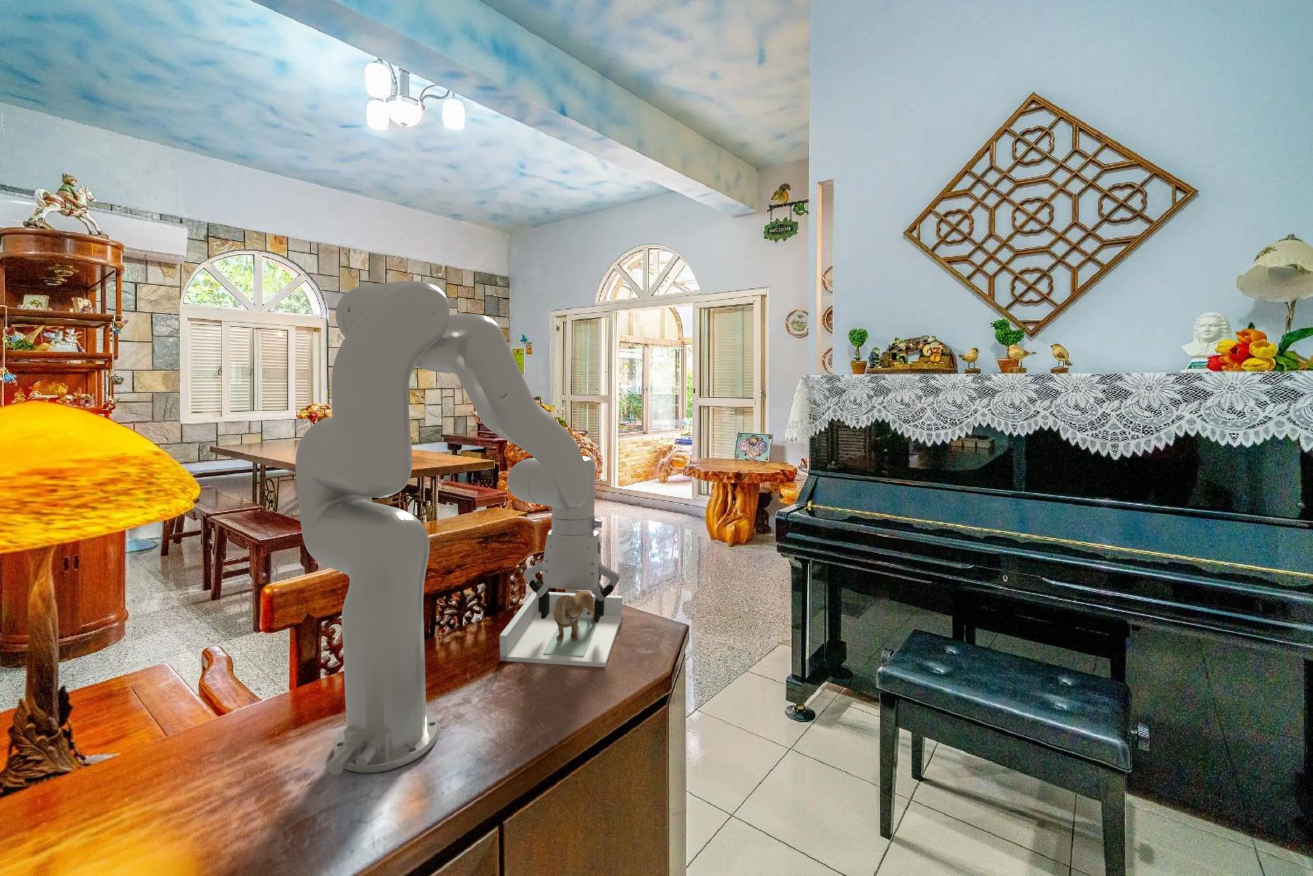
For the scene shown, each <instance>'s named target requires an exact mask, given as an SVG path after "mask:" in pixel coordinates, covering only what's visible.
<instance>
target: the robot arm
mask: <svg viewBox="0 0 1313 876" xmlns="http://www.w3.org/2000/svg"><path fill="white" fill-rule="evenodd" d="M335 321H336V325H337V328H338V329H339V332H340V333H341V335H342V336H343V337H344V339H343V341H342V342H341V344H340V346H339V349H338V350H337V353H336V356H335V358H334V362H333V366H332V372H331V417H328V418H324V419H322V420H319V421H317V422H315V423H314V424H313V425H311V426H310V427H309V428H307V430H306V431H305V432H304V434H303V435H302V437H301V439H300V441H299V443H298V446H297V449H296V454H295V461H294V462H295V465H294V466H295V479H296V489H297V499H298V511H299V519H300V520H299V521H300V529H301V534H302V535H301V536H302V540H303V544H304V546H305V548H306V550H307V552H308V554H309V555H310V557H312V559H314V560H315V561H316V562H318V563H319V564H321V565H323V566H325V567H328V568H330V569H332V570H335V571H338V572H339V573H342V574H344V575H347V576H348V578H349V585H348V588H347V589H348V590H347V593H346V596H345V598H344V603H343V605H342V611H341V638H342V652H343V653H342V654H343V656H342V657H343V671H344V672H343V678H344V701H345V702H344V703H345V722H346V727H345V728H344V729H343V730H342V731H341V732H340V733H339V735H337V736H336V739H335V740H334V743H333V749H332V750H333V756H332V758H331V759H330V760H329V761H328V762H327V763H326V770H327V771H328V773H329V774H331V775H333V776H338V775H340V774H341V773H342V772H343V771H344V770H348V771H349V772H350V771H351V772H355V773H363V774H365V773H366V774H369V773H379V772H385V771H389V770H390V771H391V770H393V769H397V768H400V767H402V766H406V765H407V764H410V763H412V762H413V761H416V760H417V759H418V758H420V757H422V756H423V755H424V754H426V753H427V752H428V751H429V750H430V749H431V748H432V747H433V746H434V744H435V743H436V741H437V739H438V738H439V734H440V733H439V731H440V729H439V725H440V724H439V721H438V719H437V717H436V716H435V715H434V714H433V713H432V712H430V711H428V710H427V702H426V701H427V700H426V699H427V698H426V697H427V695H426V659H425V657H426V655H425V622H424V590H425V588H424V586H425V579H426V573H427V566H428V562H429V555H430V537H429V535H428V532H427V529H426V528H425V526H424V524H423V523H422V521H420V519H418V518H417V517H416V516H415V515H414V514H412V513H410V512H408V511H406V510H404V509H401V508H398V507H395V506H390V505H386V504H384V503H383V504H382V503H378V502H373V498H375V499H376V498H379V499H380V498H386V497H391V496H394V495H396V494H398V493H400V492H401V491H402V490H403V489H405V488H406V486H407V485H408V483H409V481H410V479H411V476H412V472H413V449H412V447H413V446H412V435H411V434H412V433H411V421H410V420H411V419H410V406H409V404H410V402H409V401H410V399H409V397H410V396H409V395H410V394H409V393H410V380H411V377H412V375H413V374H412V373H413V372H414V371H413V370H415V369H414V368H418V369H422V370H426V371H431V372H436V373H454V374H455V375H456V376H457V378H458V379H459V381H460V384H461V385H462V387H463V389H464V391H465V392H466V395H467V396H468V398H469V401H470V402H471V404H472V406H473V408H474V410H475V412H476V413H477V415H478V418H479V420H480V422H481V423H482V424H483V426H485V428H487V429H488V430H490V431H491V432H492V433H494V434H496V435H497V436H499V437H501V438H502V439H503V440H505V441H507V442H510V443H512V444H513V445H515V446H517V447H518V448H519V449H520V448H521V449H523V451H525V452H527V454H529V455H530V456H532V457H529V458H524V459H522V460H520V461H518V462H517V463H515V464H514V465H513V466H512V468H511V469H510V471H509V472H508V475H507V487H508V490H509V492H510V493H511V495H512V496H513V497H515V498H516V499H518V500H519V501H523V502H525V503H529V504H535V505H541V506H547V507H551V529H550V530H548V532H547V536H546V541H545V546H544V554H543V561H541V562H540V563H539V562H538V563H537V564H535V565H533V566H530V567H529V568H527V569H526V570H525V571H524V572H523V574H524V577H525V579H526V581H527V582H528V586H529V587H530V588H531V590H532V591H533V592H534V591H535V593H536V595H537V597H539V612H541V619H545V618H546V617H547V615H548V614H549V601H550V594H549V592H550V591H548V590H549V589H561V590H575V591H576V590H577V591H591V594H594V595H595V597H596V600H595V602H594V622H596V623H598V622H599V619H600V617H601V616H603V615H604V599H605V598H606V597H607V596H608V595H611V593H612V592H614V589H615V587H616V586H617V584H618V583H619V581H620V578H621V575H620V574H619V573H617V572H616V571H614V570H612V569H611V568H609V567H607V566H605V565H604V564H602V549H601V548H602V546H601V540H600V534H599V531H597V530H596V529H598V528H599V529H601V528H603V520H601V519H597V517H596V515H595V498H596V496H595V495H596V494H595V493H596V463H595V461H594V460H593V459H592V457H589V456H587V455H583V454H582V451H581V449H580V448H579V445H578V444H577V442H576V441H575V439H574V438H573V436H572V435H571V434H570V432H568V430H567V429H566V428H565V427H564V426H563V425H561V424H560V422H559V421H557V420H556V418H554V417H553V416H552V415H551V414H550V413H549V412H548V410H546V409H545V408H544V407H542V406H541V404H539V403H537V401H536V400H535V399H534V397H533V395H532V393H531V391H530V389H529V387H528V385H527V383H526V379H525V378H524V376H523V374H522V371H521V370H520V367H519V365H518V363H517V361H516V358H515V356H514V354H513V352H512V350H511V348H510V345H509V343H508V340H507V338H506V336H505V335H504V334H505V333H503V330H502V328H501V327H500V326H499V325H498V323H497V322H496V321H495V320H493V319H492V318H490V317H488V316H485V315H481V314H477V313H475V314H473V313H467V314H466V313H465V314H464V313H462V314H451V308H450V302H449V299H448V298H447V295H446V294H445V293H444V292H443V291H442V289H440V288H439V287H438V286H436V285H434V284H432V283H430V282H426V281H422V280H420V281H419V280H401V281H400V280H399V281H398V280H397V281H391V282H383V283H376V284H364V285H361V286H357V287H354V288H352V289H350V290H348V291H347V292H345V293H344V294H343V295H342V296H341V298H340V299H339V301H337V305H336V308H335ZM540 572H541V573H542V577H541V578H542V583H541V582H540V580H538V578H536V574H539V573H540ZM602 576H604V577H605V578H606V579H609V583H608V584H606V586H603V585H602V584H601V580H602Z"/></svg>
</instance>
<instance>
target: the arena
mask: <svg viewBox="0 0 1313 876" xmlns="http://www.w3.org/2000/svg"><path fill="white" fill-rule="evenodd" d="M548 592H549V594H550V601H549V614H548V615H547V617H546V618H545V619H541V612H539V597H537V595H536V593H535V591H534V590H533V592H532V593H531V594H530V596H529V597H528V598H527V599H526V600H525V602H524V603H523V604H522V606H521V607H520V609H519V610H518V611H517V612H516V614H515V615H514V616H513V618H511V620H510V622H509V623H508V624H507V625H506V626H505V628H504V629H503V630H502V632H501V633H500V634H499V661H501V662H512V663H513V662H517V663H533V664H547V665H561V666H564V665H566V666H576V667H577V666H579V667H596V668H606V666H607V663H608V660H609V657H610V654H611V651H612V649H613V647H614V643H615V640H616V637H617V634H618V631H619V627H620V625H621V623H622V620H623V595H613V594H612V595H611V594H609V595H608V596H607V597H606V598H605V599H604V615H603V616H601V617H600V619H599V622H598V623H592V622H591V619H592V617H593V615H592V614H591V613H590V615H587V612H588V610H587V609H586V608H584V609H583V612H582V613H581V617H580V619H579V621H578V625H577V638H578V640H576V641H572V640H571V631H572V627H571V626H570V627H567V628H563V631H564V638H563V639H562V640H557V636H558V635H559V630H558V625H557V623H556V621H555V620H554V609H555V603H556V602H557V599H559V598H560V597H561V596H564V595H569V596H571V597H574V596H575V595H576V594H577V593H578V592H577V593H575V592H574V593H573V592H559V591H558V592H557V591H555V592H553V591H548ZM590 594H591V595H592V598H593V605H594V602H595V600H596V597H595V595H594V594H593V593H590ZM620 605H622V606H620Z"/></svg>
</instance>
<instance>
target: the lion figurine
mask: <svg viewBox="0 0 1313 876" xmlns="http://www.w3.org/2000/svg"><path fill="white" fill-rule="evenodd" d="M591 594H592V593H591V592H589V590H580V591H578V592H577V594H576V595H575V596H574V597H571V596H569V595H564V596H561V597H560V598H559V599H557V602H556V603H555V609H554V620H555V621H556V623H557V625H558V630H559V635H558V636H557V640H562V639H563V638H564V631H563V628H567V627H570V626H571V627H572V631H571V640H572V641H576V640H578V638H577V625H578V621H579V619H580V617H581V613H582V612H583V609H584V608H586V609H587V610H588V612H587V615H590V613H591V614H592V615H593V617H592V619H591V622H592V623H596V622H594V605H593V598H592V595H591Z"/></svg>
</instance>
